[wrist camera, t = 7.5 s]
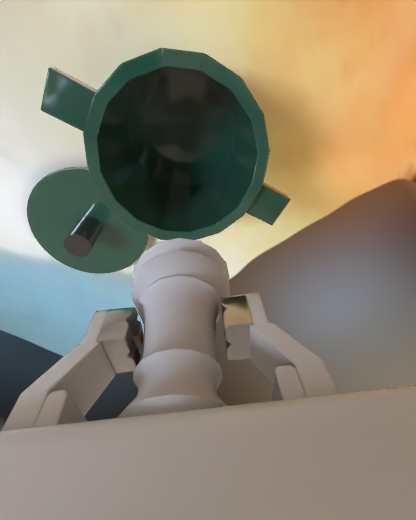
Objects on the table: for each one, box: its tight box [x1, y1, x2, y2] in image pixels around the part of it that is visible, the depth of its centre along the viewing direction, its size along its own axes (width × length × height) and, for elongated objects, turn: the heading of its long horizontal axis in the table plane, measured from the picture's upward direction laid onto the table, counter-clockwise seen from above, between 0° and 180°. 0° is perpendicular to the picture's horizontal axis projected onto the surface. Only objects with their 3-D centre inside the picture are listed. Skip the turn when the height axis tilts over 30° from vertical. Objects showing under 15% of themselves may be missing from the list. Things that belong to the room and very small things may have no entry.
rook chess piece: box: [118, 238, 230, 418], centre depth 10 cm, size 4×4×8 cm
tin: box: [41, 48, 290, 240], centre depth 22 cm, size 12×17×10 cm
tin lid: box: [27, 167, 149, 273], centre depth 29 cm, size 13×13×5 cm
